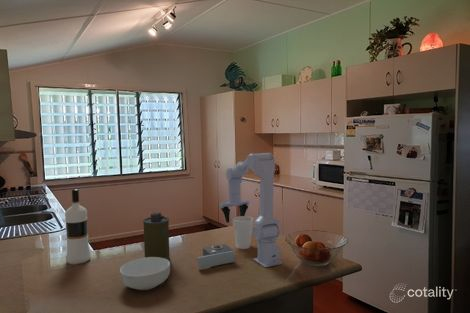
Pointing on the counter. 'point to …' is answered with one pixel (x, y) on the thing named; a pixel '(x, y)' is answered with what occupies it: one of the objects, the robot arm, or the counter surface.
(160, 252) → the canister
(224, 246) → the camera body
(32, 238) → the counter surface
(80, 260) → the vodka
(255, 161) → the robot arm
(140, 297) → the counter surface
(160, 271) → the cereal bowl
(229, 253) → the side door
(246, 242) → the foam cup
